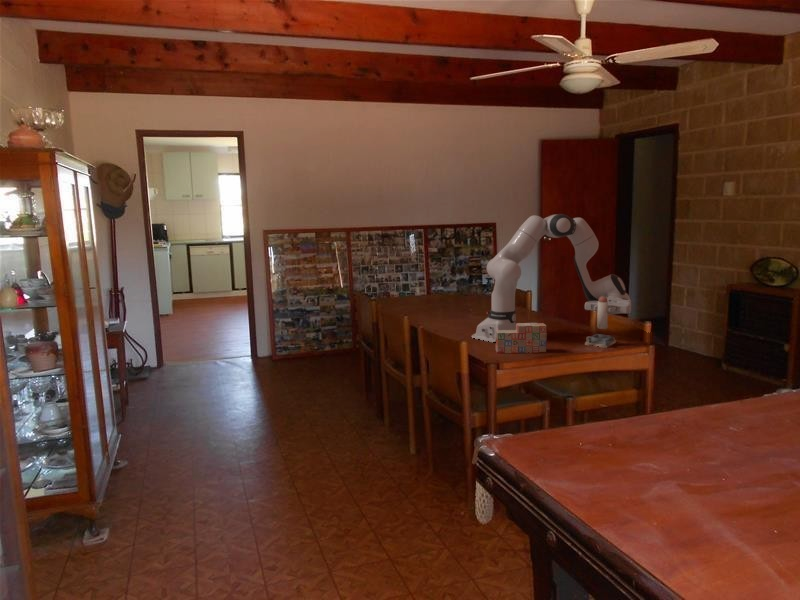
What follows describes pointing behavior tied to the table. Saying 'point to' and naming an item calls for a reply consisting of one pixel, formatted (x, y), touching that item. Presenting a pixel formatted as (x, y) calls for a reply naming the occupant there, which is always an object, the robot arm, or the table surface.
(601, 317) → the fuselage
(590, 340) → the jig
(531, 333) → the stack of blocks
